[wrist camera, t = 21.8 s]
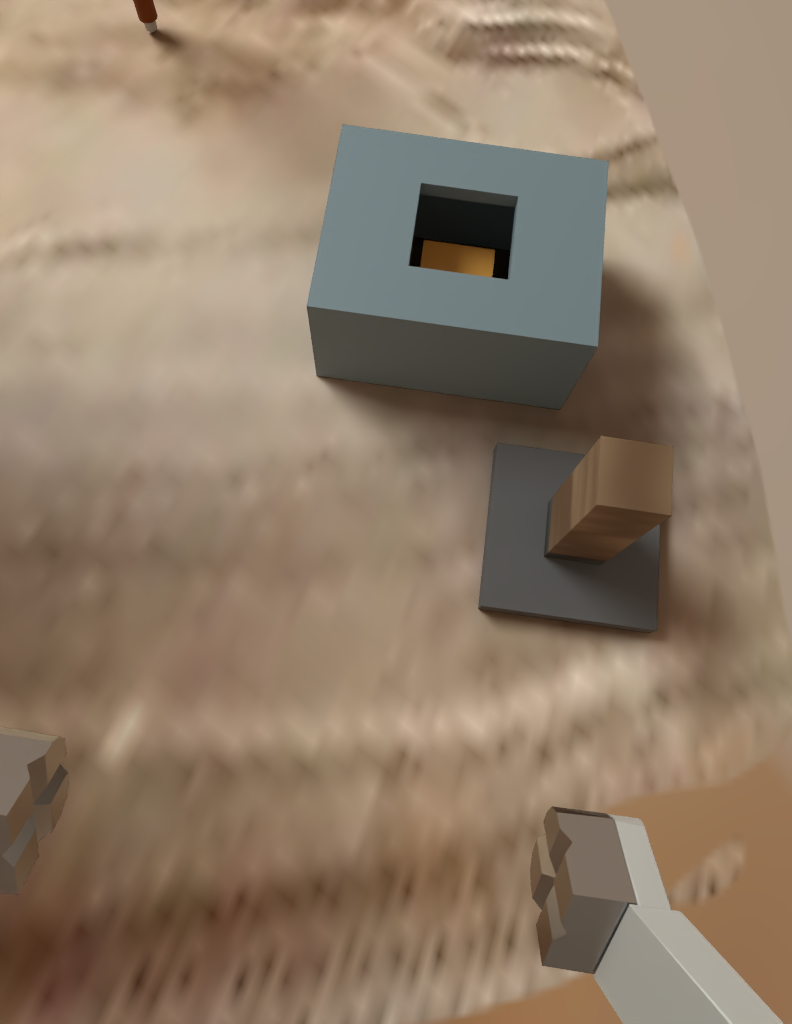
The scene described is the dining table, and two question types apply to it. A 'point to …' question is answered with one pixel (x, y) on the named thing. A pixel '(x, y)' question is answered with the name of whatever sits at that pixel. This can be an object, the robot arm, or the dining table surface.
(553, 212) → the box
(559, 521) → the upright wooden post
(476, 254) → the button
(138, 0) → the magnifying glass
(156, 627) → the dining table surface
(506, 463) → the pad
